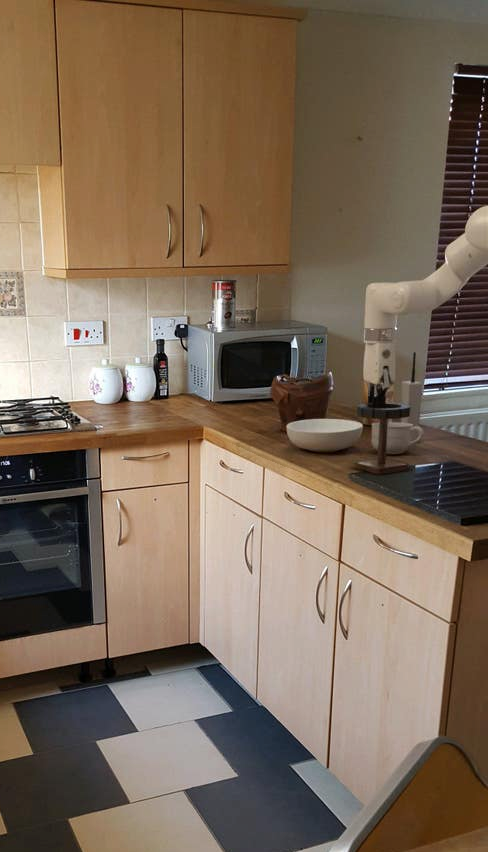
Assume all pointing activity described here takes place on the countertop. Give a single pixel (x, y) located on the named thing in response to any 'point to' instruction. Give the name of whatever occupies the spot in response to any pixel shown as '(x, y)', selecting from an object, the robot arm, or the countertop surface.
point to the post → (382, 456)
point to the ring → (384, 411)
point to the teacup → (396, 437)
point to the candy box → (365, 400)
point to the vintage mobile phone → (412, 400)
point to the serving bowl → (324, 434)
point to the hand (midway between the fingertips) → (375, 411)
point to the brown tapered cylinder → (301, 397)
